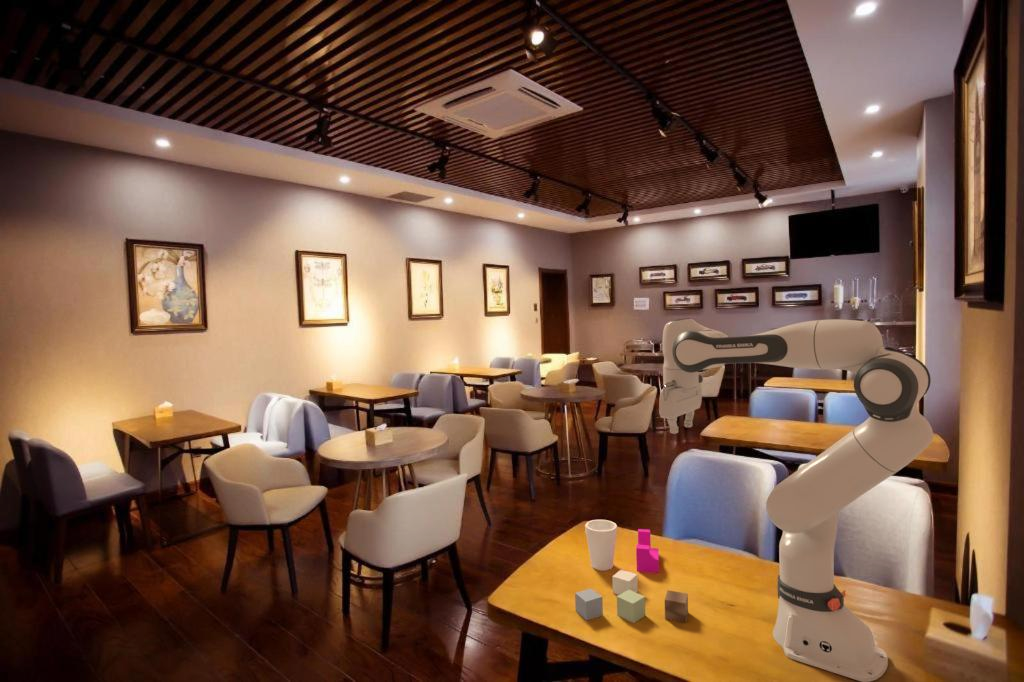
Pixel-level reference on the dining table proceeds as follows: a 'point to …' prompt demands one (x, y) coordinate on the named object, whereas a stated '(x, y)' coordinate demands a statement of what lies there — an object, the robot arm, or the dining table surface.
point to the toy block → (646, 553)
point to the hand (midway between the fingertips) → (681, 430)
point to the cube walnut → (676, 606)
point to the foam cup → (601, 543)
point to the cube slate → (589, 604)
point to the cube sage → (631, 606)
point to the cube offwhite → (624, 582)
